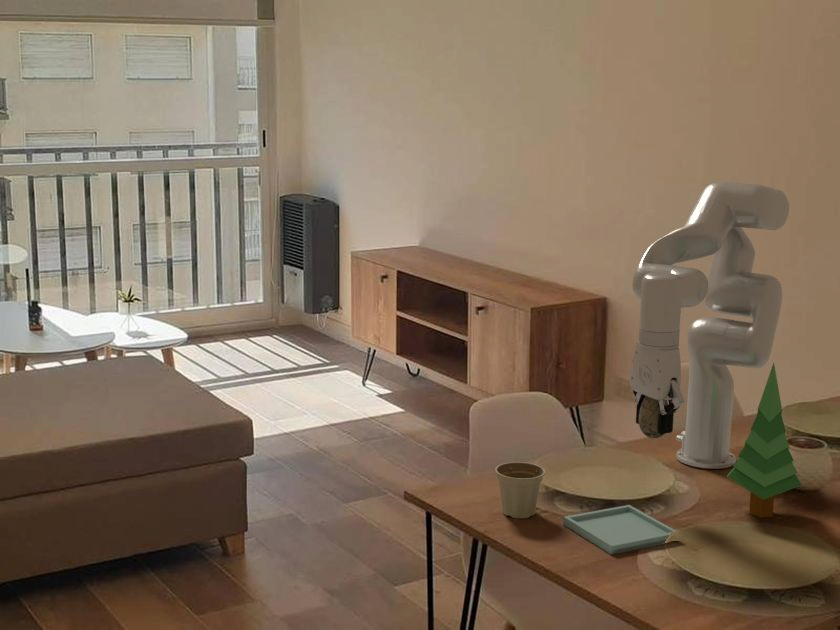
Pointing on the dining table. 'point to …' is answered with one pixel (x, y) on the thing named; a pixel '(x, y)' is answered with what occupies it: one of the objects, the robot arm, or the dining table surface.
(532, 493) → the flower pot
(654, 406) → the decorative egg
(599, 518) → the teal dish
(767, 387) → the decorative tree
